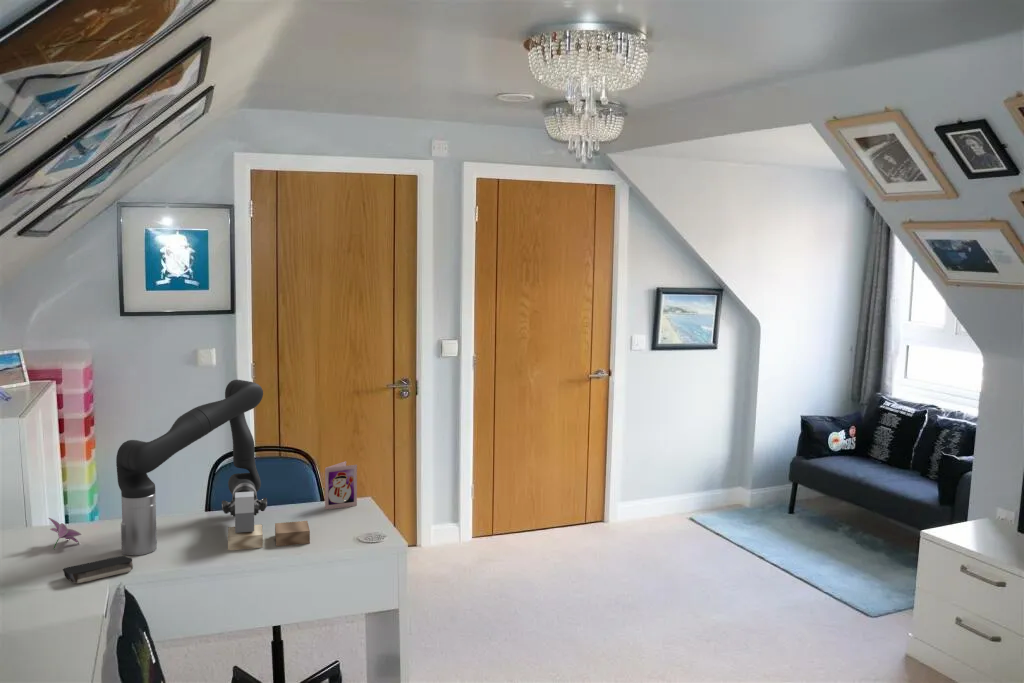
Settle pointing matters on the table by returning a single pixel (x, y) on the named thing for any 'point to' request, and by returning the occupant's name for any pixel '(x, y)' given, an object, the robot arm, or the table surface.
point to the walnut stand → (292, 533)
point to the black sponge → (98, 569)
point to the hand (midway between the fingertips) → (244, 512)
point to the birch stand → (245, 539)
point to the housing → (244, 512)
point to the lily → (64, 531)
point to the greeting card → (340, 486)
